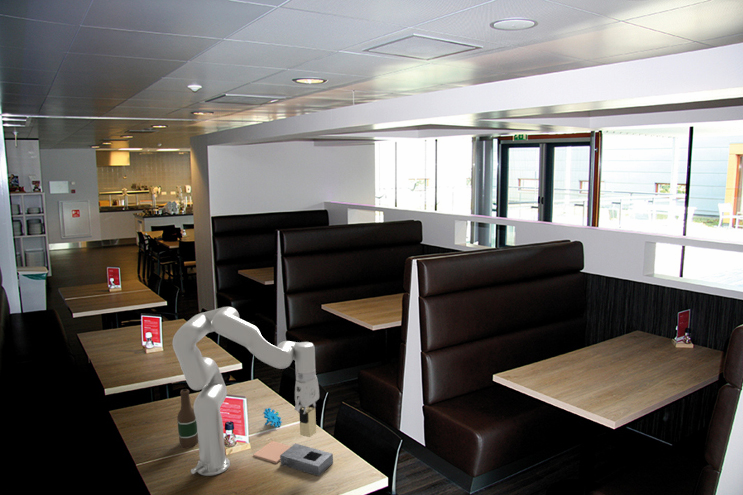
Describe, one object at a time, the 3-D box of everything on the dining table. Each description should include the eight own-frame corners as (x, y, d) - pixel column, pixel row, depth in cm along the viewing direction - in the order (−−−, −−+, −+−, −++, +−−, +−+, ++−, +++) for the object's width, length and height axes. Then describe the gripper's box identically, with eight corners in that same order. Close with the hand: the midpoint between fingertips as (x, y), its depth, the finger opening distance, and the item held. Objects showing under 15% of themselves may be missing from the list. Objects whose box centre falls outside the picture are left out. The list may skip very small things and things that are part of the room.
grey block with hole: (318, 476, 203) (318, 466, 202) (280, 464, 212) (280, 455, 211) (333, 463, 212) (332, 453, 211) (296, 452, 220) (295, 443, 220)
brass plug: (309, 437, 206) (308, 412, 204) (300, 434, 208) (299, 410, 206) (316, 432, 210) (315, 408, 208) (307, 429, 212) (306, 405, 210)
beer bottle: (175, 445, 228) (170, 392, 225) (189, 437, 235) (184, 385, 232) (189, 449, 225) (184, 395, 221) (202, 441, 232) (198, 388, 228)
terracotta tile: (276, 463, 212) (276, 461, 212) (253, 456, 218) (253, 454, 218) (295, 449, 223) (294, 447, 223) (272, 442, 229) (272, 440, 228)
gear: (276, 428, 237) (261, 411, 239) (267, 436, 239) (253, 419, 240) (287, 420, 248) (273, 403, 250) (278, 428, 249) (264, 411, 251)
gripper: (300, 384, 196) (302, 431, 199) (326, 369, 210) (327, 412, 213) (284, 381, 200) (286, 427, 202) (310, 365, 214) (312, 409, 217)
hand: (307, 419), depth 208 cm, fingers closed on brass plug, 4 cm apart
